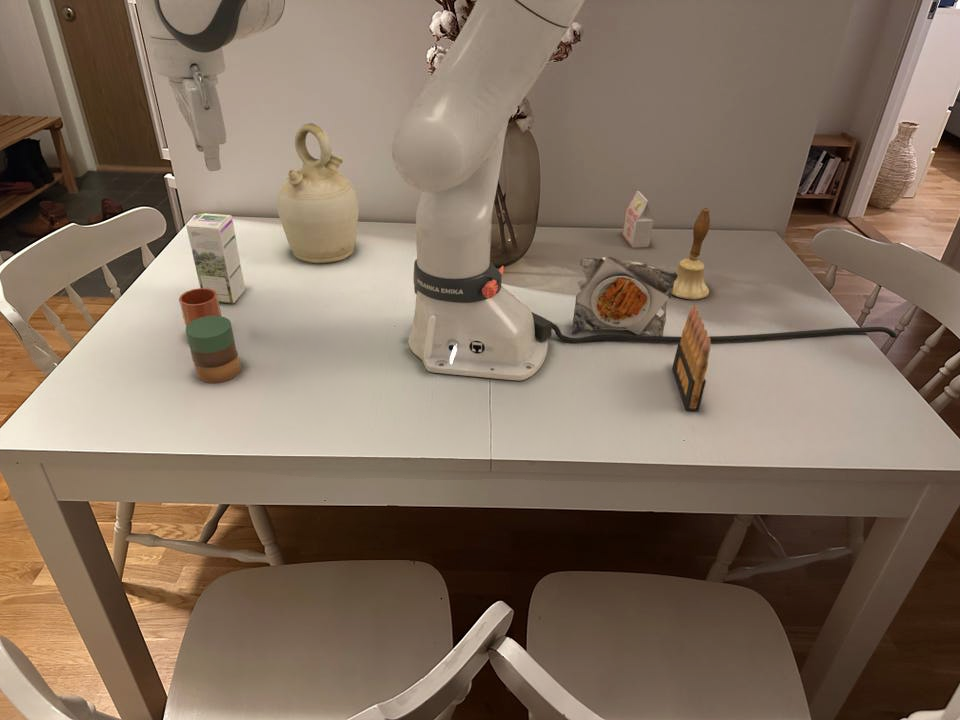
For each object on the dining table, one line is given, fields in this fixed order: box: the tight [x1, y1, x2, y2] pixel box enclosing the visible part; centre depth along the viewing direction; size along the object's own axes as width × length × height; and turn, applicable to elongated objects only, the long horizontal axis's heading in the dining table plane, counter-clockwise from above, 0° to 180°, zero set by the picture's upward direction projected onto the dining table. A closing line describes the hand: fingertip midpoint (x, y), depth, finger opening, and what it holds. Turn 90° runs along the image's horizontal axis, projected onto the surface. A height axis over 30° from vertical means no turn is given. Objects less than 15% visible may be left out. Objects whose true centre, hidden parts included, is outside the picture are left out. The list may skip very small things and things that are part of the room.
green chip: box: [185, 316, 235, 353], centre depth 99 cm, size 6×6×3 cm
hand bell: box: [672, 207, 711, 301], centre depth 125 cm, size 8×8×16 cm
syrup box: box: [185, 212, 246, 304], centre depth 118 cm, size 6×6×14 cm
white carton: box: [621, 190, 654, 249], centre depth 145 cm, size 4×7×10 cm, turn 8°
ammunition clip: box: [671, 304, 712, 412], centre depth 100 cm, size 11×2×12 cm, turn 178°
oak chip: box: [193, 349, 241, 384], centre depth 102 cm, size 6×6×3 cm
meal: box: [571, 256, 678, 336], centre depth 112 cm, size 15×4×13 cm, turn 81°
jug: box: [277, 122, 360, 264], centre depth 132 cm, size 15×16×25 cm
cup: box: [178, 287, 223, 328], centre depth 109 cm, size 6×6×7 cm
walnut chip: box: [189, 340, 238, 367], centre depth 101 cm, size 6×6×3 cm
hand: (208, 159), depth 100 cm, fingers open, 8 cm apart
